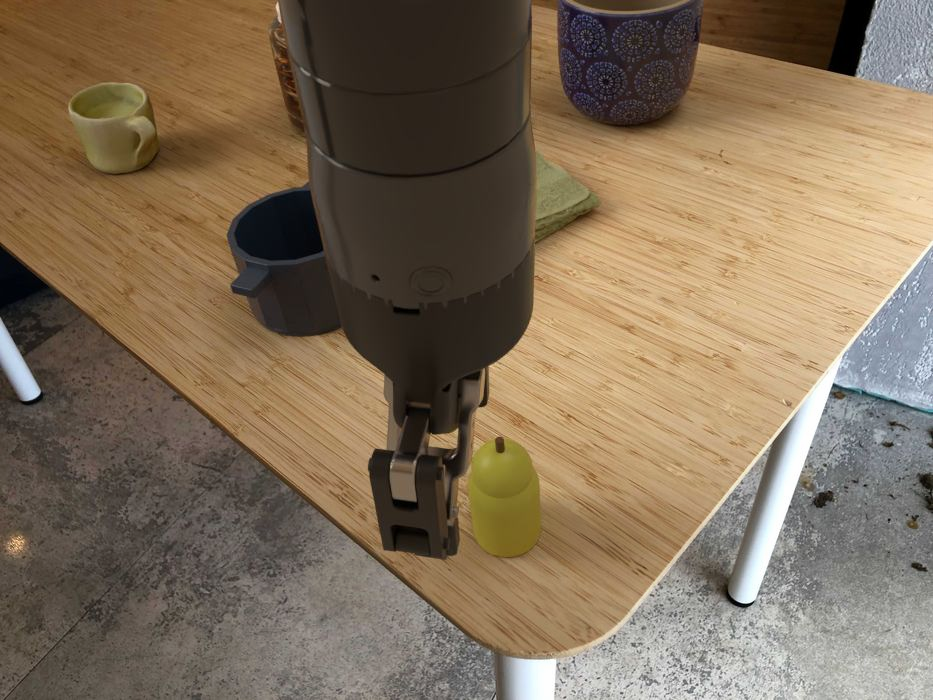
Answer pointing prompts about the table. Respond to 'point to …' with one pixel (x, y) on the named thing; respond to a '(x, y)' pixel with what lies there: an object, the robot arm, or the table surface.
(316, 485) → the table surface
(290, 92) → the jar
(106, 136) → the mug
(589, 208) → the washcloth
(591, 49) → the planter
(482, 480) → the pear
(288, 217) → the pot
